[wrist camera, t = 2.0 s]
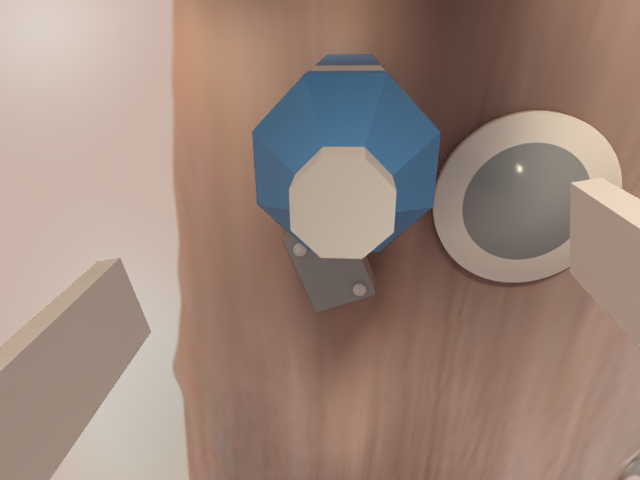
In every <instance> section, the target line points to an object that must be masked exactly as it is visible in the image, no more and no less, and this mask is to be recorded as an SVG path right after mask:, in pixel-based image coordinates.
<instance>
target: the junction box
mask: <svg viewBox="0 0 640 480" xmlns="http://www.w3.org/2000/svg"><path fill="white" fill-rule="evenodd" d="M283 243H284V245H285V247H286V249H287V252H288V254H289V256H290V258H291V260H292V262H293V264H294V267H295V269H296V271H297V273H298V275H299V277H300V280H301V282H302V284H303V286H304V288H305V290H306V292H307V295H308V297H309V299H310V301H311V303H312V305H313V307H314V310H315V312H316V313H318V312H321V311H324V310H328V309H331V308H334V307H338V306H341V305H344V304H348V303H351V302H354V301H358V300H361V299H364V298H368V297H371V296H374V295H376V289H375V278H374V272H373V270H372V267H371V265H370V262H369V260H368V257H367V255H366V256H365V257H364V258H363V259H348V258H320V257H319V256H318V255H317V254H316V253H315V252H314V251H308V250H307V249H306V248H305V247H304V246H303V245H302V244H301V243H299V242H298V241H297V240H296V239H295V238H294V237H293V236H292V235H291V234H290V233H288V232H287V231H286V233H285V236H284V239H283Z"/></svg>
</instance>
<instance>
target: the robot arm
mask: <svg viewBox="0 0 640 480" xmlns="http://www.w3.org/2000/svg"><path fill="white" fill-rule="evenodd" d="M570 274H571V275H572V276H573V277H574V278H575V279H576V280H577V281H578V283H579V284H580V285H581V286H582V287H583V288H584V289H585V290H586V291H587V292H588V293H589V294H590V296H591V297H592V298H593V299H594V300H595V301H596V302H597V303H598V304H599V305H600V306H601V308H602V309H603V310H604V311H605V312H606V313H607V314H608V315H609V316H610V317H611V318H612V319H613V321H614V322H615V323H616V324H617V325H618V326H619V327H620V328H621V329H622V330H623V331H624V332H625V334H626V335H627V336H628V337H629V338H630V339H631V340H632V341H633V342H634V343H635V344H636V345H637V347H638V348H639V349H640V199H638V198H637V197H635V196H633V195H631V194H629V193H628V192H626V191H624V190H622V189H621V188H619V187H617V186H615V185H613V184H612V183H610V182H608V181H606V180H605V179H603V178H596V179H590V180H584V181H578V182H572V183H571V194H570ZM150 333H151V330H150V328H149V326H148V323H147V321H146V319H145V316H144V314H143V311H142V309H141V307H140V304H139V302H138V299H137V297H136V295H135V292H134V290H133V287H132V285H131V283H130V280H129V278H128V276H127V273H126V271H125V268H124V266H123V264H122V261H121V259H120V258H117V259H111V260H105V261H99V262H97V263H96V264H94V265H93V266H92V267H91V268H90V269H89V270H87V272H85V273H84V274H83V275H82V276H81V277H79V278H78V279H77V280H76V281H75V282H74V283H73V284H72V285H70V286H69V287H68V288H67V289H66V290H65V291H64V292H62V293H61V294H60V295H59V296H58V297H57V298H56V299H54V300H53V301H52V302H51V303H50V304H49V305H48V306H46V307H45V308H44V309H43V310H42V311H41V312H40V313H39V314H37V315H36V316H35V317H34V318H33V319H32V320H31V321H29V322H28V323H27V324H26V325H25V326H24V327H23V328H22V329H20V330H19V331H18V332H17V333H16V334H15V335H14V336H12V337H11V338H10V339H9V340H8V341H7V342H6V343H5V344H3V345H2V346H1V347H0V480H50V478H51V477H52V476H53V474H54V473H55V471H56V470H57V468H58V467H59V465H60V464H61V462H62V461H63V459H64V458H65V456H66V455H67V454H68V452H69V451H70V449H71V448H72V446H73V445H74V443H75V442H76V441H77V439H78V437H79V436H80V435H81V433H82V432H83V430H84V429H85V427H86V426H87V424H88V423H89V422H90V420H91V419H92V417H93V416H94V414H95V413H96V411H97V410H98V408H99V407H100V405H101V404H102V402H103V401H104V400H105V398H106V397H107V395H108V394H109V392H110V391H111V389H112V388H113V387H114V385H115V383H116V382H117V380H118V379H119V378H120V376H121V375H122V373H123V372H124V370H125V369H126V368H127V366H128V365H129V363H130V362H131V360H132V359H133V357H134V356H135V354H136V353H137V351H138V350H139V348H140V347H141V346H142V344H143V343H144V341H145V340H146V338H147V337H148V335H149V334H150Z"/></svg>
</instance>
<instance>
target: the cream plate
mask: <svg viewBox="0 0 640 480" xmlns="http://www.w3.org/2000/svg"><path fill="white" fill-rule="evenodd" d="M596 178H603V179H605V180H606V181H608V182H610V183H612V184H613V185H615V186H617V187H619V188H621V189H622V176H621V170H620V165H619V162H618V159H617V156H616V154H615V152H614V150H613V149H612V147H611V145H610V144H609V143H608V141H607V140H606V139H605V137H604V136H603V135H602V134H600V133H599V132H598V131H597V130H596V129H595V128H593V127H592V126H590V125H589V124H587V123H586V122H584V121H581V120H579V119H577V118H575V117H572V116H569V115H566V114H563V113H559V112H555V111H548V110H527V111H519V112H515V113H511V114H507V115H504V116H501V117H499V118H496V119H493V120H492V121H490V122H488V123H486V124H484V125H482V126H481V127H479V128H478V129H476V130H475V131H473V132H472V133H470V134H469V135H468V136H467V137H466V138H465V139H464V140H462V141H461V142H460V143H459V144H458V146H457V147H456V148H455V149H454V150H453V151H452V153H451V154H450V155H449V157H448V158H447V160H446V161H445V163H444V165H443V167H442V168H441V170H440V172H439V175H438V178H437V180H436V186H435V196H434V206H433V208H432V214H433V220H434V225H435V228H436V230H437V233H438V236H439V238H440V240H441V242H442V244H443V246H444V248H445V249H446V251H447V252H448V253H449V255H450V256H451V257H452V258H453V259H454V260H455V261H456V262H457V263H458V264H459V265H461V266H462V267H463V268H465V269H466V270H468V271H470V272H471V273H473V274H475V275H478V276H480V277H483V278H486V279H489V280H493V281H499V282H511V283H518V282H529V281H534V280H539V279H542V278H546V277H549V276H552V275H554V274H556V273H559V272H561V271H563V270H565V269H567V268H569V267H570V194H571V183H572V182H578V181H584V180H590V179H596Z"/></svg>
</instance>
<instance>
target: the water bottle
mask: <svg viewBox="0 0 640 480" xmlns="http://www.w3.org/2000/svg"><path fill="white" fill-rule="evenodd" d="M252 135H253V149H254V164H255V178H256V193H257V204H258V205H259V206H260V207H261V208H262V209H263V210H264V211H265V212H266V213H268V214H269V215H270V216H271V217H272V218H273V219H274V220H275V221H276V222H277V223H279V224H280V225H281V226H282V227H283V228H284V229H285V230H286V231H287V232H288V233H290V234H291V235H292V236H293V237H294V238H295V239H296V240H297V241H298V242H299V243H301V244H302V245H303V246H304V247H305V248H306V249H307V250H308V251H314V252H315V253H316V254H317V255H318V256H319V257H320V258H348V259H363V258H364V257H365V256H366V255H368V254H369V253H370V252H374V253H379V252H380V251H381V250H382V249H384V248H385V247H386V246H387V245H388V244H389V243H391V242H392V241H393V240H394V239H395V238H397V237H398V236H399V235H400V234H401V233H403V232H404V231H405V230H406V229H407V228H409V227H410V226H411V225H412V224H413V223H415V222H416V221H417V220H418V219H419V218H421V217H422V216H423V215H424V214H425V213H427V212H428V211H429V210H430V209H431V208H433V206H434V196H435V186H436V176H437V166H438V156H439V146H440V137H441V132H440V131H439V130H438V129H437V127H436V126H435V125H434V124H433V123H432V122H431V121H430V120H429V118H428V117H427V116H426V115H425V114H424V113H423V112H422V110H421V109H420V108H419V107H418V106H417V105H416V104H415V103H414V101H413V100H412V99H411V98H410V97H409V96H408V95H407V94H406V92H405V91H404V90H403V89H402V88H401V87H400V86H399V84H398V83H397V82H396V81H395V80H394V79H393V78H392V77H391V76H390V75H389V73H388V72H387V71H386V70H385V69H384V68H383V67H382V66H381V65H380V63H379V62H378V61H377V60H376V59H375V58H374V57H373V56H372V55H327V56H326V57H325V58H324V59H322V60H321V61H320V62H319V63H317V64H316V65H315V66H314V67H313V68H311V69H310V70H309V71H308V72H307V73H305V74H304V75H303V77H302V78H301V79H300V80H299V81H298V82H297V83H296V84H295V85H294V86H293V87H292V89H291V90H290V91H289V92H288V93H287V94H286V95H285V96H284V97H283V98H282V100H281V101H280V102H279V103H278V104H277V105H276V106H275V107H274V108H273V109H272V110H271V112H270V113H269V114H268V115H267V116H266V117H265V118H264V119H263V120H262V121H261V122H260V124H259V125H258V126H257V127H256V128H255V129H254V130H253V131H252Z"/></svg>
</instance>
